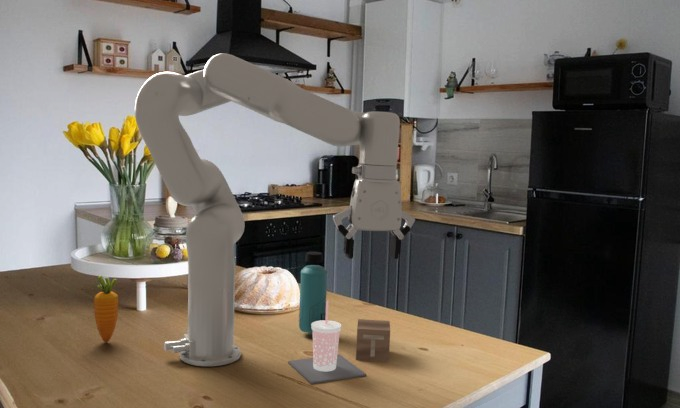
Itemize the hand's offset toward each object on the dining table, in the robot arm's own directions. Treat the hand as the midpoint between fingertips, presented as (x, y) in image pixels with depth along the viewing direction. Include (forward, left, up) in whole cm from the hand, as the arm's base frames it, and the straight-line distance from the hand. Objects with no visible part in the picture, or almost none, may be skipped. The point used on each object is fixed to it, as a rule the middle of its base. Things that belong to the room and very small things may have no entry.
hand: (371, 257), depth 130 cm
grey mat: (-8, +2, -23) cm, 25 cm away
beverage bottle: (-3, +23, -23) cm, 33 cm away
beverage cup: (-9, +2, -23) cm, 25 cm away
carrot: (-47, +33, -23) cm, 62 cm away
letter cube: (+4, +6, -23) cm, 24 cm away
